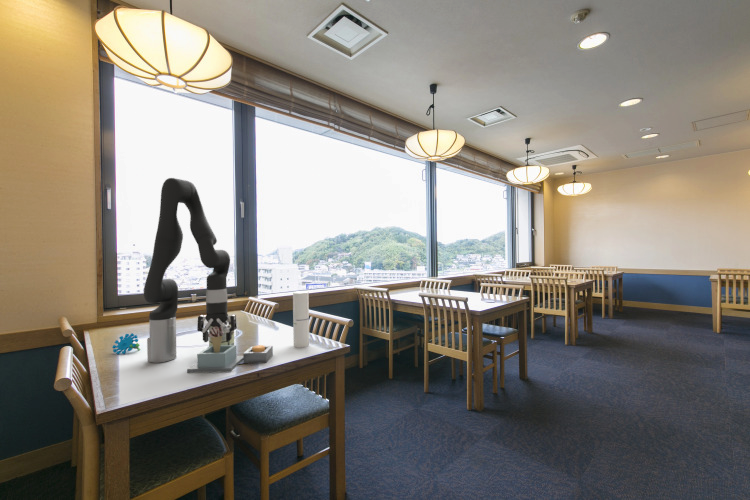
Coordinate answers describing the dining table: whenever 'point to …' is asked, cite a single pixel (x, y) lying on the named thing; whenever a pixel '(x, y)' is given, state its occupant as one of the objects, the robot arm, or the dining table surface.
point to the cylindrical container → (301, 319)
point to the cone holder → (217, 360)
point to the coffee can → (224, 337)
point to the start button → (258, 348)
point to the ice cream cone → (216, 337)
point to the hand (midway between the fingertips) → (217, 341)
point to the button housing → (258, 355)
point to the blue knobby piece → (126, 344)
